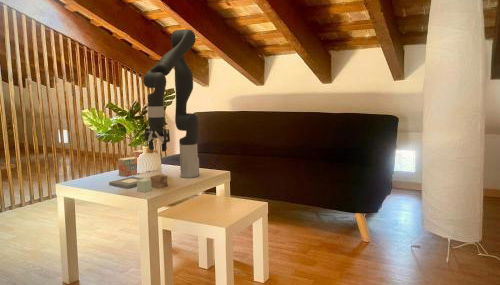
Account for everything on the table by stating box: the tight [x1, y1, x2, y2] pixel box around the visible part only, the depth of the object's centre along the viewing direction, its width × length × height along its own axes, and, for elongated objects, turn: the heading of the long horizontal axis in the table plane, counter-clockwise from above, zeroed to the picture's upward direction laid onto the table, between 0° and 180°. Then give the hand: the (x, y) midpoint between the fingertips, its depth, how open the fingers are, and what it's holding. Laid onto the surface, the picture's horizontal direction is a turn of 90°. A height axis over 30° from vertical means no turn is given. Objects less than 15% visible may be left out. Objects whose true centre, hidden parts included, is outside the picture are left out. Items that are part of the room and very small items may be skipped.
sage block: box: [136, 178, 153, 193], centre depth 179 cm, size 4×4×5 cm
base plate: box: [108, 176, 144, 190], centre depth 192 cm, size 14×14×2 cm
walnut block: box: [150, 174, 169, 189], centre depth 186 cm, size 6×6×5 cm
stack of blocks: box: [117, 148, 158, 178], centre depth 217 cm, size 21×6×12 cm, turn 141°
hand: (157, 150), depth 184 cm, fingers open, 8 cm apart
